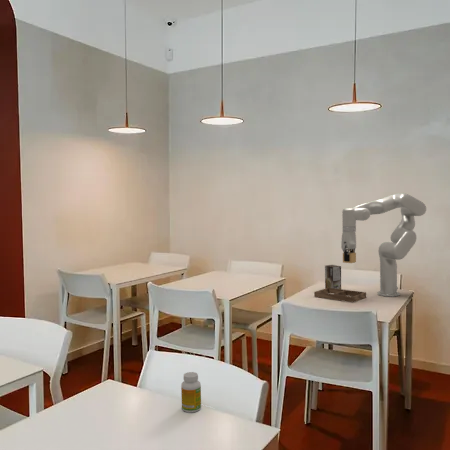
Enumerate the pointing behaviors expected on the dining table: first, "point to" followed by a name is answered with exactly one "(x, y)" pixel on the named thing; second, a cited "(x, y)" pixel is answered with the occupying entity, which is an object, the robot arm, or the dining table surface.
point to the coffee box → (333, 276)
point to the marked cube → (352, 258)
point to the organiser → (340, 294)
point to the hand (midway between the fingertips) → (349, 260)
